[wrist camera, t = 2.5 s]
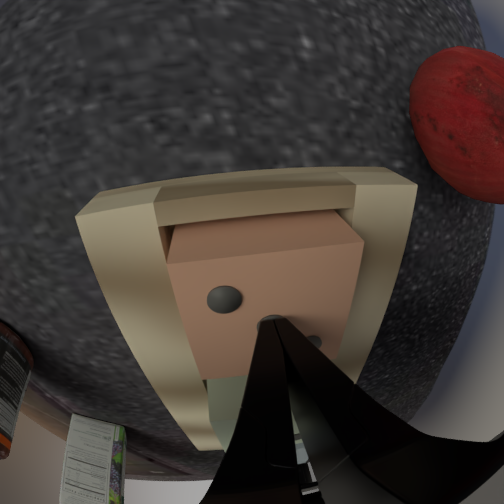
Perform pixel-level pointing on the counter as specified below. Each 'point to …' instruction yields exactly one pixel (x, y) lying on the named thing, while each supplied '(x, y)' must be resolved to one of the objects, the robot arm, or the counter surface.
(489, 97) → the onion
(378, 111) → the counter surface
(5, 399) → the supplement bottle
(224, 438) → the tile two pip
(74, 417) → the syrup box
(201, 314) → the tile three pip
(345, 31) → the counter surface
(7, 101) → the counter surface
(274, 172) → the tile tray
